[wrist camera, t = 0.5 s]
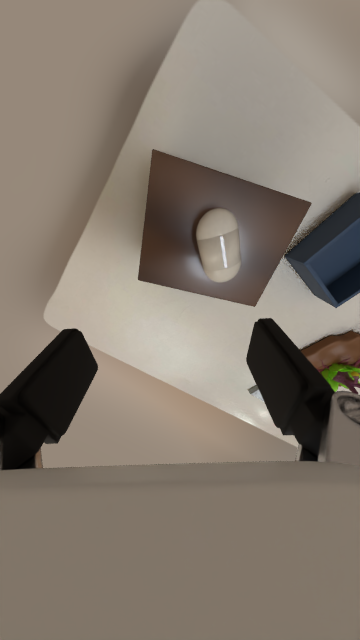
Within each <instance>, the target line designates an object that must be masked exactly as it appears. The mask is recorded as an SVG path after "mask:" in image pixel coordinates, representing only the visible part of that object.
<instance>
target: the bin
mask: <svg viewBox="0 0 360 640" xmlns="http://www.w3.org/2000/svg"><path fill="white" fill-rule="evenodd" d="M285 258H286V259H287V260H288V261H289V263H290V264H291V265H292V267H293V268H294V269H295V271H296V272H297V273H298V274H299V276H300V277H301V278H302V280H303V281H304V282H305V283H306V285H307V286H308V287H309V289H310V290H311V291H312V292H313V294H314V295H315V296H317V297H318V298H320V299H322V300H323V301H325V302H327V303H329V304H330V305H332V306H334V307H335V308H337V307H338V306H340V305H342V304H343V303H345V302H346V301H348V300H349V299H351V298H352V297H354V296H355V295H357V294H358V293H360V193H356V194H354V195H353V196H352V197H351V198H350V199H349V200H347V201H346V202H345V203H344V204H343V205H342V206H341V207H339V208H338V209H337V210H336V211H335V212H334V213H333V214H331V215H330V216H329V217H328V218H327V219H326V220H325V221H324V222H322V223H321V224H320V225H319V226H318V227H317V228H316V229H314V230H313V231H312V232H311V233H310V234H309V235H308V236H306V237H305V238H304V239H303V240H302V241H301V242H300V243H299V244H297V245H296V246H295V247H294V248H293V249H292V250H291V251H289V252H288V253H287V254H286V255H285Z"/></svg>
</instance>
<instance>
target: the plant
mask: <svg viewBox="0 0 360 640" xmlns="http://www.w3.org/2000/svg"><path fill="white" fill-rule="evenodd" d="M301 352H302V353H303V354H304V356H305V357H306V358H307V359H308V360H309V361H310V362H311V363H312V365H313V366H314V367H315V368H316V369H317V370H318V371H319V373H320V374H321V375H322V376H323V377H324V378H325V379H326V381H327V382H328V383H329V384H330V385H331V388H332V389H333V390H334V391H335V392H336V391H337V389H338V386H343V387H345V388H347V389H349V390H350V391H352V393H355V394H358V392H357V391H356V389H355V388H354V387H358V388H360V382H359V381H358V379H359V378H360V334H358V333H355V332H354V331H350V332H348V333H346V334H344V335H340V336H329V337H326V338H325V339H323V340H321V341H319V342H317V343H315V344H313V345H311V346H310V347H308V348H305V349H303V350H301Z"/></svg>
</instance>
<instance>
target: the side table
mask: <svg viewBox="0 0 360 640" xmlns="http://www.w3.org/2000/svg"><path fill="white" fill-rule="evenodd" d="M310 206H311V202H308V201H305V200H302V199H299V198H296V197H293V196H290V195H287V194H284V193H281V192H278V191H275V190H272V189H269V188H266V187H263V186H260V185H257V184H254V183H252V182H249V181H246V180H243V179H240V178H237V177H234V176H231V175H228V174H225V173H222V172H219V171H216V170H213V169H210V168H207V167H204V166H201V165H198V164H195V163H192V162H189V161H187V160H184V159H181V158H178V157H175V156H172V155H169V154H166V153H163V152H160V151H157V150H154V149H153V150H152V158H151V167H150V176H149V185H148V194H147V203H146V212H145V221H144V230H143V239H142V248H141V257H140V266H139V275H138V280H140V281H144V282H149V283H153V284H158V285H162V286H166V287H171V288H175V289H179V290H184V291H188V292H193V293H197V294H201V295H206V296H210V297H214V298H219V299H223V300H228V301H232V302H236V303H241V304H245V305H249V306H254V307H255V306H256V304H257V302H258V300H259V298H260V297H261V295H262V293H263V291H264V289H265V287H266V286H267V284H268V282H269V280H270V278H271V277H272V275H273V273H274V271H275V269H276V267H277V266H278V264H279V262H280V260H281V258H282V257H283V255H284V253H285V251H286V249H287V247H288V246H289V244H290V242H291V240H292V238H293V236H294V235H295V233H296V231H297V229H298V227H299V226H300V224H301V222H302V220H303V218H304V216H305V215H306V213H307V211H308V209H309V207H310ZM215 208H224V209H227V210H229V211H230V212H232V213H233V214H234V216H235V217H236V219H237V222H238V227H239V237H240V249H241V267H240V270H239V272H238V273H237V275H236V276H235V277H234V278H233V279H231V280H229V281H227V282H224V283H218V282H214V281H212V280H210V279H209V278H208V277H207V276H206V275H205V273H204V271H203V267H202V262H201V258H200V253H199V248H198V244H197V239H196V229H197V225H198V223H199V221H200V219H201V218H202V216H203V215H204V214H205V213H207V212H208V211H210V210H212V209H215Z"/></svg>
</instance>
